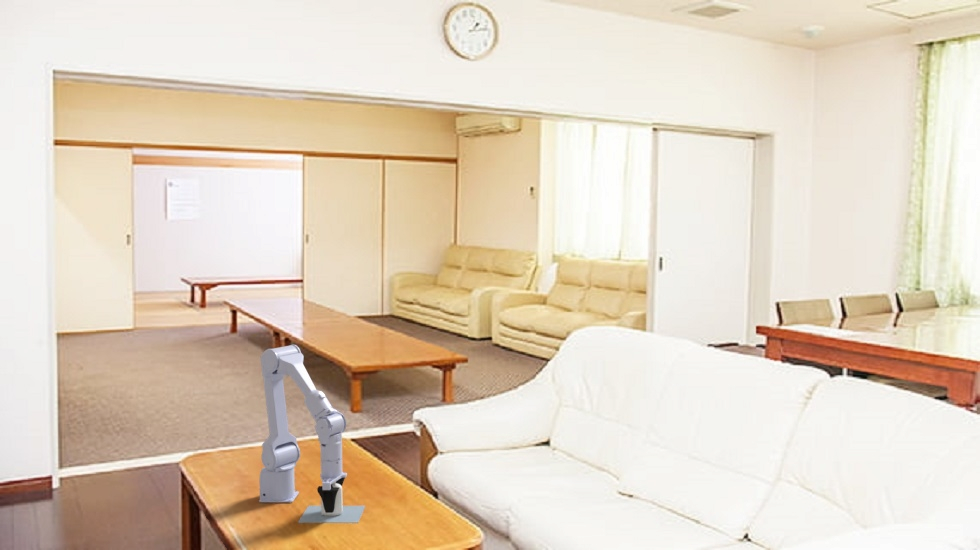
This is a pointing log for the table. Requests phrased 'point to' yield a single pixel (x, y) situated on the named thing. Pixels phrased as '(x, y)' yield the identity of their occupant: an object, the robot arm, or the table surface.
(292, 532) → the table surface
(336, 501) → the eye dropper bottle
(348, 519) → the mat
